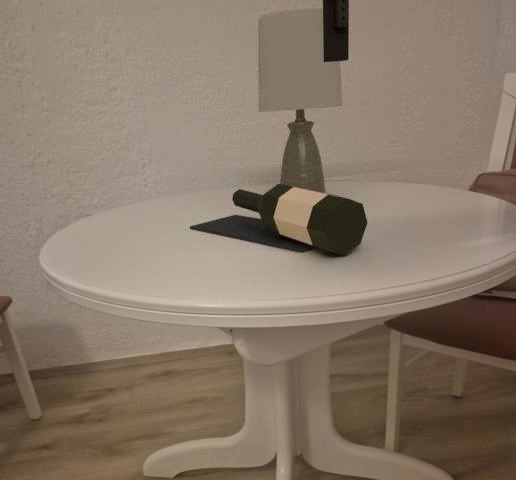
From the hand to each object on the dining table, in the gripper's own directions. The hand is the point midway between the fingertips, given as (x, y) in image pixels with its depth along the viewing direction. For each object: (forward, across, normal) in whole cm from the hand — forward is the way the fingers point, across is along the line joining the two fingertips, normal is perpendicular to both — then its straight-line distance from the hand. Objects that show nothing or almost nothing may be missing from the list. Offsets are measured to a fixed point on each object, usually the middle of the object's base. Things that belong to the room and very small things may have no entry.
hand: (336, 60), depth 60 cm
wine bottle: (+21, +1, +1) cm, 21 cm away
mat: (+25, -21, -4) cm, 33 cm away
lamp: (+26, -47, +15) cm, 56 cm away
